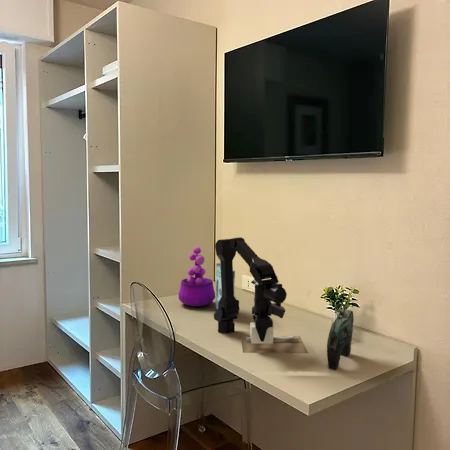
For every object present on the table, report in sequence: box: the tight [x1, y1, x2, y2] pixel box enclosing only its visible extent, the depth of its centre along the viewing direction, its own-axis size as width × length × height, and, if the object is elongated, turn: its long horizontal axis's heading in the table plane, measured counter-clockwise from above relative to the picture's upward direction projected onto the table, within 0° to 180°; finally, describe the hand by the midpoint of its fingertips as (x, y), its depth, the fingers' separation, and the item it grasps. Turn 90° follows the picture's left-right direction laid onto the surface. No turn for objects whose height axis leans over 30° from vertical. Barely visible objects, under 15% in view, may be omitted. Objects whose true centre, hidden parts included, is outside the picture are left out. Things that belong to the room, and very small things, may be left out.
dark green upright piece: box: [326, 303, 355, 371], centre depth 164 cm, size 20×6×20 cm, turn 150°
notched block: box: [249, 322, 274, 344], centre depth 172 cm, size 8×6×6 cm
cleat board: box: [240, 335, 309, 354], centre depth 177 cm, size 24×18×3 cm
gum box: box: [215, 262, 236, 310], centre depth 220 cm, size 20×5×23 cm, turn 13°
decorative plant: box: [178, 246, 216, 307], centre depth 235 cm, size 19×19×30 cm
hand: (261, 338), depth 172 cm, fingers closed on notched block, 6 cm apart
